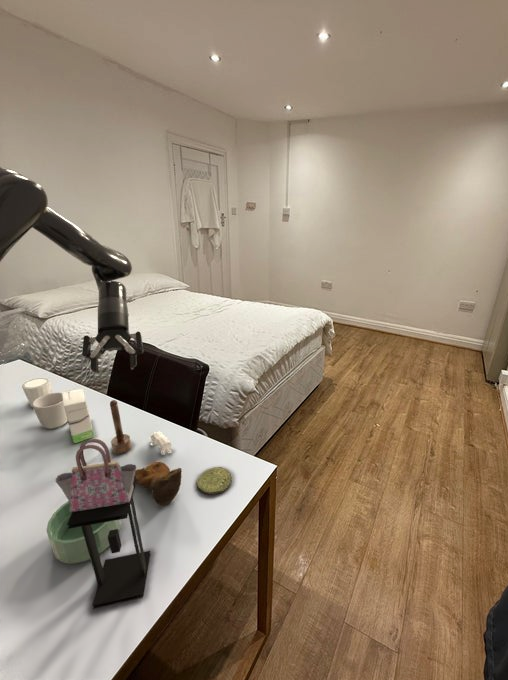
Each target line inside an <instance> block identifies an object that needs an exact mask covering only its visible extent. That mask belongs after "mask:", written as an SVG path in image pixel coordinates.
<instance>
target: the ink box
mask: <svg viewBox="0 0 508 680" xmlns="http://www.w3.org/2000/svg"><path fill="white" fill-rule="evenodd" d="M61 393H62V397H63V406H64V409H65V413H66V417H67V424H68V427H69V432H70V435H71V438H72V442H73V444H77V443H79V442H84V441H86V440H89V439H93V438H94V437H95V434H94V429H93V427H92V421H91V417H90V412H89V408H88V404H87V399H86V397H85V393H84V389H83V388H82V387H81V388H77V389H72V390H67V391H64V392H61Z"/></svg>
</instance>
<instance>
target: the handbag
mask: <svg viewBox="0 0 508 680" xmlns="http://www.w3.org/2000/svg"><path fill="white" fill-rule="evenodd" d="M91 443H96V444H91ZM97 444H98V445H97ZM99 445H100V446H101V447H100V446H99ZM90 449H91V450H96V451H97V452H99V453H100V455H101V457H102V461H103V463H95V464H87V462H86V459H85V454H84V450H90ZM75 463H76V466H73V467H72V468H71V472H64V473H61V474H59V475H57V476H56V478H55V479H54V481H55V483H56V485H58V487H60V490H61V491H62V492H63V494H64V495H65V497H66V499H67V501H69V502H70V512H72V514H71V516H70V519H69V521H68V523H67V525H69V527H68V529H69V528H75V527H80V526H81V528H82V531H83V535H84V538H85V542H86V545H87V549H88V552H89V555H90V559H89V560H90V563H91V565H92V570H93V573H94V576H95V580H96V583H97V587H96V590H95V594H94V597H93V600H92V604H91V607H92V609H93V610H94V609H99V608H102V607H106V606H111V605H115V604H119V603H124V602H128V601H131V600H136V599H140V598H144V595H145V589H146V583H147V576H148V572H149V565H150V559H151V551H150V550H147V551H144V546H143V542H142V536H141V530H140V526H139V519H138V515H137V511H136V504H135V500H134V499H135V498H134V492H135V489H136V485H137V483H136V481H137V479H136V476H135V471H136V470H137V465H136V464H133V463H129V464H125V465H122V466H121V464H120V462H119V461H112V458H111V452H110V449H109V447H108V446H107V444H106V443H105V442H104V441H103V440H101V439H98V438H89V439H86V440H83V441H82V443H81V444H80V445H79V448H78V450H76V454H75ZM120 519H121V520H124V519H128V521H129V524H130V530H131V534H132V539H133V544H134V549H135V553H132V554H127V555H122V556H118V557H113V558H107V559H104V563H102V560H101V556H100V554H99V552H98V549H97V545H96V541H95V537H94V534H93V530H92V526H91V525H92V524H97V523H103V522H109V521H114V520H120ZM108 541H109V549H110V553H111V554H117V553H120V552H121V550H122V549H121V548H122V541H121V537H120V531H119V532H118V529H115V530H110V531H109V534H108Z"/></svg>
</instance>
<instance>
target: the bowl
mask: <svg viewBox="0 0 508 680" xmlns="http://www.w3.org/2000/svg"><path fill="white" fill-rule="evenodd" d="M71 514H72V512H70V502H69V500H67V501H66V502H64V503H63V504H62V505H60V507H58V508H57V509H56V510H55V512H53V514H51V517H50V518H49V520H48V522H47V526H46V534H47V537H48V540H49V543H50V545H51V548H52V552H53V554H54V557H55V558H56V559H57V560H58V561H59V562H61V563H64V564H69V565H70V564H78V563H79V564H80V563H83V562H86V561H89V560H91V559H90V555H89V552H88V549H87V545H86V542H85V538H84V535H83V531H82V528H81V526H80V527H75V528H69V529H68V527H69V525H67V523H68V521H69V519H70V516H71ZM121 521H122V519H120V520H114V521H109V522H103V523H97V524H92V525H91V526H92V530H93V534H94V537H95V541H96V545H97V549H98V552H99V555H100V554H102V553H103V552H104V551H106V550H107V548H108V547H110V545H109V541H108V534H109V531H110V530H115V529H118V532H119V533H120V531H121V527H122V526H121V525H122V522H121Z"/></svg>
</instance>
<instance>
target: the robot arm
mask: <svg viewBox="0 0 508 680" xmlns="http://www.w3.org/2000/svg"><path fill="white" fill-rule="evenodd" d="M48 205H49V199H48V194H47V192H46V191H45V189H44V188H43V187H42V186H41V185H40V184H39V183H37V182H35V181H34V180H32V179H30V178H28V177H27V176H25V175H23V174H20V173H19V172H18V171H17V172H16V171H15V170H12V169H10V168H7V167H4V166H0V263H1V262H2V261H3V260H4V258H6V256H7V255H8V254H9V252H10V251H11V250H12V249H13V248H14V246H16V245H17V243H18V242H19V241H20V240H21V239H22V238H23V237H24V236H25V235H26V234H27V233H28V232H30V230H32V229H34V230H35V231H37V232H38V233H40V234H41V235H43V236H45V237H46V238H47V239H48V240H50V241H51V242H53V243H54V244H55V245H57V246H58V247H59V248H61V249H62V250H64V251H65V252H66V253H67V254H69V255H70V256H72V257H74V258H75V259H76V260H78V261H80V262H81V263H82V264H84V265H87V266H89V267H91V274H92V275H93V278H94V281H95V284H96V287H97V290H98V305H97V334H96V335H95V336H89V335H86V334H85V335H84V336H83V340H82V351H81V352H82V353H81V355H82V356H83V358H84V359H85V360H90V370H91V372H92V373H94V374H99V372H100V371H99V367H100V366H99V358H101V356H102V355H104V354H105V353H106V352H107V351H108V352H113V351H122V350H125V352H127V353H128V354H129V367H130V370H135V368H137V366H138V363H137V362H138V361H137V356H138V355H143V354H144V352H145V351H144V345H143V344H144V343H143V337H142V333H141V332H140V331H136V332H135V333H130V326H129V325H130V323H129V317H130V314H129V308H128V303H127V289H126V286H125V285H124V284H123V283H122V282H121V281H120V282H119V281H116V280H119V279H123V278H127V277H129V276H130V275H131V274H132V271H133V266H132V262H131V261H130V259H129V258H128V257H127V256H126V255H124V253H122V252H120V251H118V250H115V249H113V248H111V247H109V246H106V245H103V244H101V243H100V242H99V241H98V240H97V239H95V238H94V237H93V236H92V235H90V234H89V233H87V232H86V231H85V230H83V229H82V228H80V227H79V226H78V225H76V224H75V223H73V222H71V221H70V220H68V219H67V218H66V217H64V216H62V215H60V214H59V213H58V212H56V211H54V210H53V209H52V208H51V207H50V206H48ZM131 339H132V340H133V341H134V342H136V346H137V348H135V349H134V348H133V347H132V346H131V345H130V344H129V342H130V341H132V340H131ZM96 342H97V343H98V344H97V345H96V347H94V348H95V349H94V350H93V351H92V352H91V349H92V346H93V345H94V343H96Z"/></svg>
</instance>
